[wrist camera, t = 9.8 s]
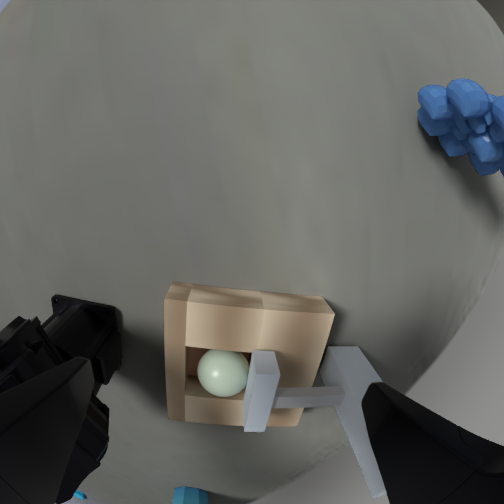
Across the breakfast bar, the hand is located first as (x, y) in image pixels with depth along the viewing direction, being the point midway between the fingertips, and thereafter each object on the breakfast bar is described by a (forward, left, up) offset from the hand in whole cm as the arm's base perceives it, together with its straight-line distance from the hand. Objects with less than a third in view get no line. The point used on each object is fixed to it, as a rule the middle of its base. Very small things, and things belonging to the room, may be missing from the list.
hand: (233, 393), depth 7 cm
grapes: (+17, +14, -13) cm, 26 cm away
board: (+2, -8, -13) cm, 15 cm away
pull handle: (+7, -8, -13) cm, 17 cm away
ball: (0, -8, -11) cm, 13 cm away
